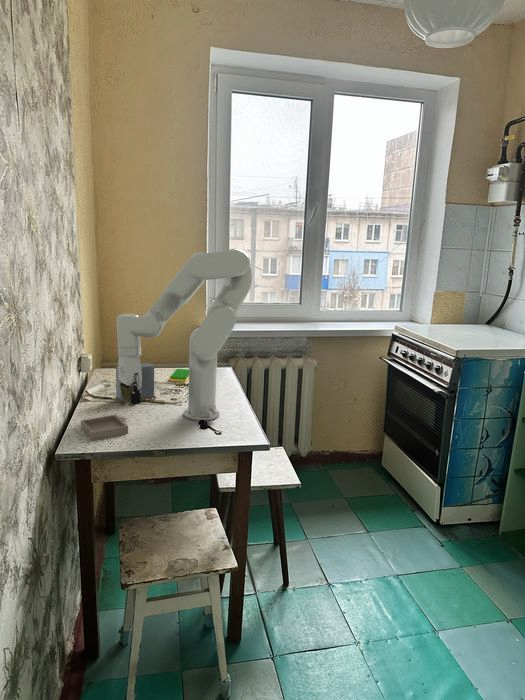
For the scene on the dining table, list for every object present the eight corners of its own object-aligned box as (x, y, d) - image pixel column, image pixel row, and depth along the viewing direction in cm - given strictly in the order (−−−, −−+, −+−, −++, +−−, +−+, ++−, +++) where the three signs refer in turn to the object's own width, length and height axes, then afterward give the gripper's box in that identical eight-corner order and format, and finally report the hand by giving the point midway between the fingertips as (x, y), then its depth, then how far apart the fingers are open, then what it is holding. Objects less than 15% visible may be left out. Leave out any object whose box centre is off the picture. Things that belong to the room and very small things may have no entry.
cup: (146, 401, 171) (145, 380, 169) (138, 409, 164) (137, 386, 162) (125, 400, 172) (124, 379, 170) (117, 408, 164) (116, 385, 163)
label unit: (155, 398, 186) (156, 366, 183) (120, 404, 177) (120, 370, 174) (149, 394, 190) (149, 362, 187) (114, 399, 182) (114, 366, 179)
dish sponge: (192, 374, 222) (192, 369, 222) (185, 383, 209) (185, 378, 208) (176, 373, 223) (176, 368, 222) (169, 382, 209) (169, 376, 209)
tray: (128, 433, 152) (128, 425, 152) (92, 440, 146) (92, 432, 145) (115, 421, 161) (115, 414, 161) (81, 427, 154) (80, 420, 154)
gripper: (109, 347, 168) (112, 396, 172) (128, 357, 154) (130, 410, 158) (130, 344, 172) (132, 392, 176) (150, 354, 159) (152, 405, 163)
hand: (131, 400), depth 167 cm, fingers closed on cup, 7 cm apart
